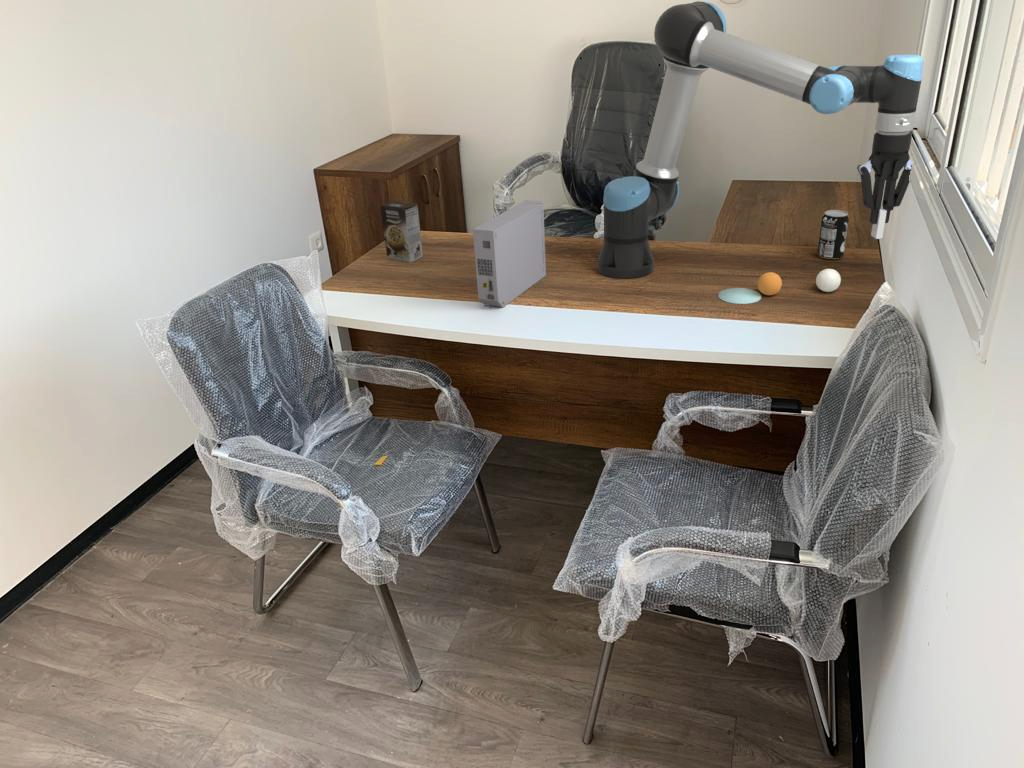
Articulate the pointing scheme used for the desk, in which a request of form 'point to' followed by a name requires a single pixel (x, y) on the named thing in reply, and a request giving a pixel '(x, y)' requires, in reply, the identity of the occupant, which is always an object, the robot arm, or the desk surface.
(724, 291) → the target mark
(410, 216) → the coffee box
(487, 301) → the game console
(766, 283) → the object ball
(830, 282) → the cue ball
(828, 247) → the beverage can
